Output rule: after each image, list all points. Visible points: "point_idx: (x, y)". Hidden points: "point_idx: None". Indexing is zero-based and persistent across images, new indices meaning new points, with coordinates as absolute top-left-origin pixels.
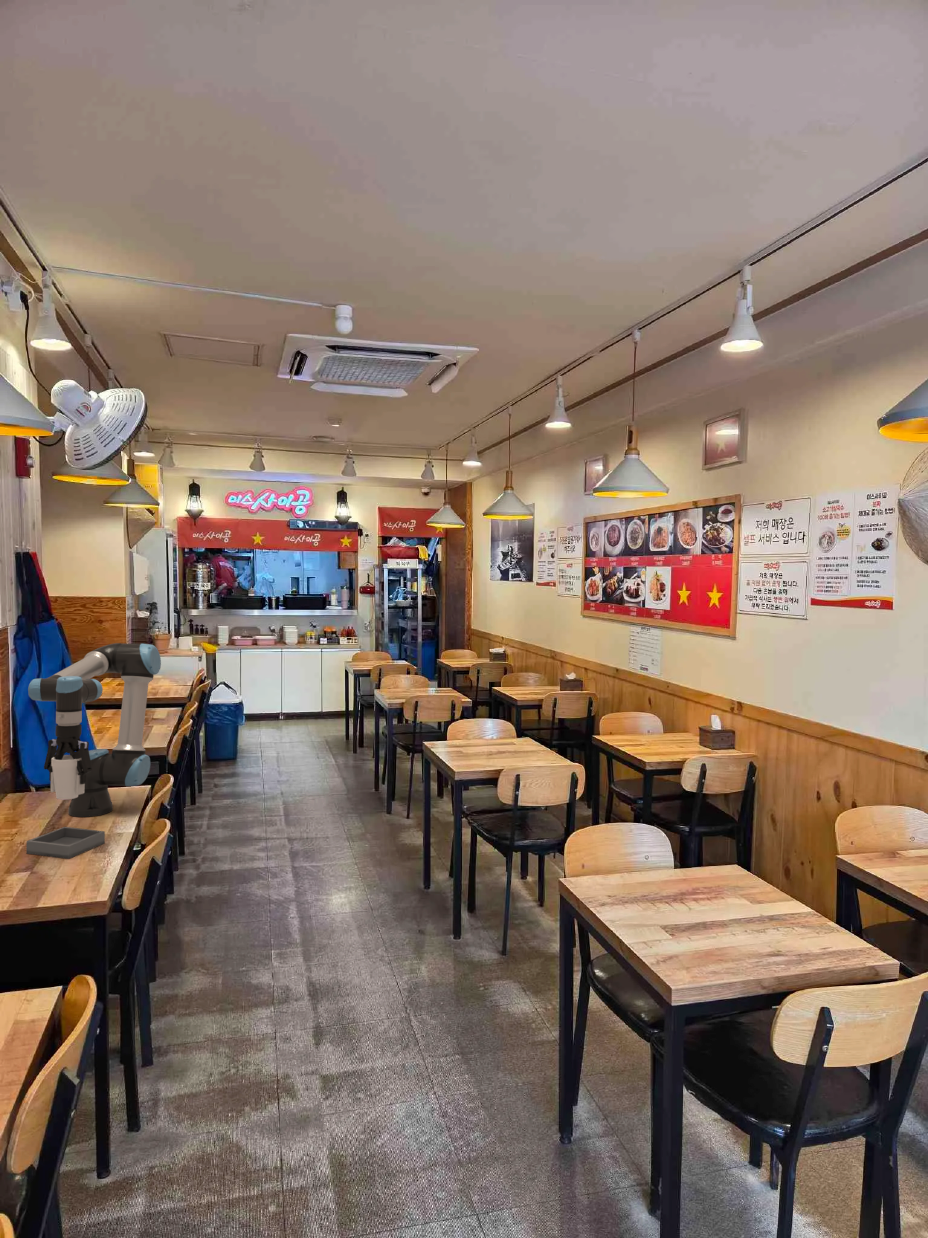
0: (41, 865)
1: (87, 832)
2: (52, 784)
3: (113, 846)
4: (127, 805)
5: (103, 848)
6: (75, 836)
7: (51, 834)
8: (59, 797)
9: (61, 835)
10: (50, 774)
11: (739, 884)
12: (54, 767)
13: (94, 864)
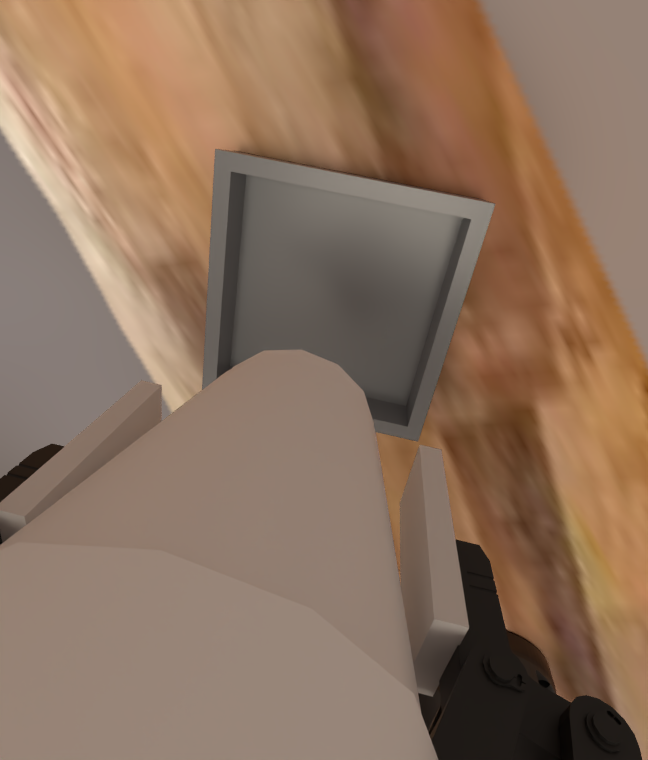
0: (309, 29)
1: None
2: (424, 494)
3: (166, 340)
4: None
5: (187, 313)
6: None
7: (429, 349)
8: (304, 356)
9: (411, 395)
10: (486, 617)
11: None
12: (272, 594)
13: (82, 97)
